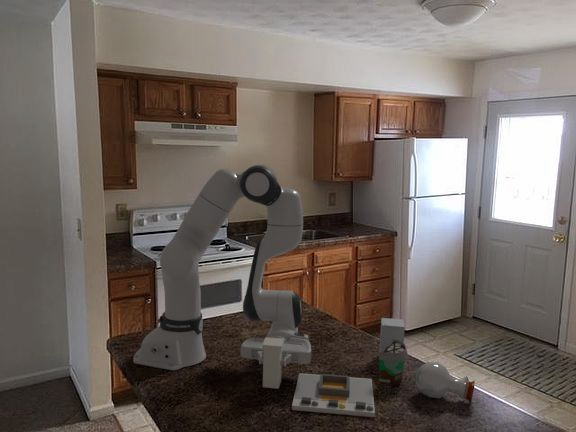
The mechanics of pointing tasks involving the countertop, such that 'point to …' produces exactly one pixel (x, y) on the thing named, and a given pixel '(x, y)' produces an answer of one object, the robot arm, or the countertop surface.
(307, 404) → the board
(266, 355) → the plug
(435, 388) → the potion bottle
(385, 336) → the supplement box
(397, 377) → the food container
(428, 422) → the countertop surface
